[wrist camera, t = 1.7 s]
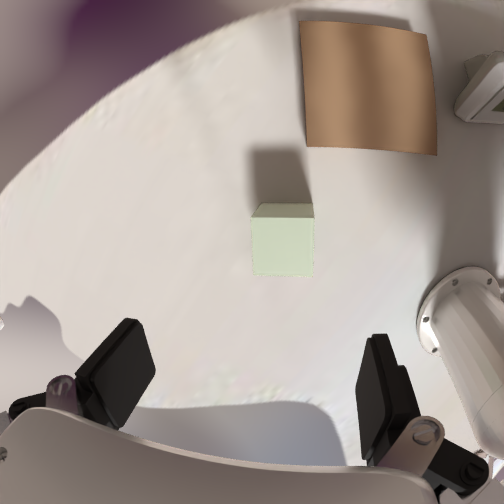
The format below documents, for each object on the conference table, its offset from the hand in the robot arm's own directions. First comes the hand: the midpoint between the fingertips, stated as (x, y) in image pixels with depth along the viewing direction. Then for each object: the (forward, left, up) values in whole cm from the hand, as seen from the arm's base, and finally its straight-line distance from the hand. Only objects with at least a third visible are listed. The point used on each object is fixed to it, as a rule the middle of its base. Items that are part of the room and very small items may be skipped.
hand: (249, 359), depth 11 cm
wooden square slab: (-8, -14, -19) cm, 25 cm away
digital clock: (-25, -16, -20) cm, 36 cm away
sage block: (0, 0, -19) cm, 19 cm away
